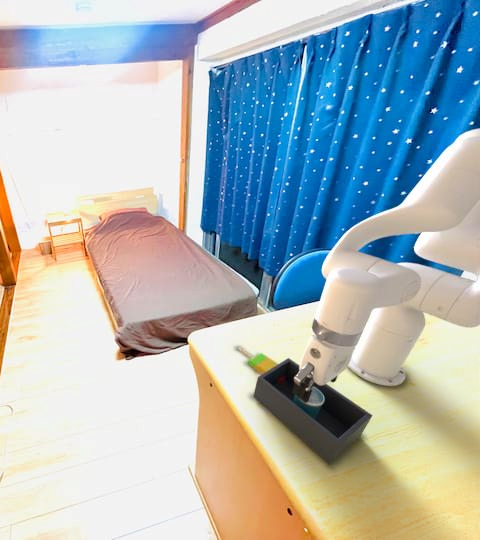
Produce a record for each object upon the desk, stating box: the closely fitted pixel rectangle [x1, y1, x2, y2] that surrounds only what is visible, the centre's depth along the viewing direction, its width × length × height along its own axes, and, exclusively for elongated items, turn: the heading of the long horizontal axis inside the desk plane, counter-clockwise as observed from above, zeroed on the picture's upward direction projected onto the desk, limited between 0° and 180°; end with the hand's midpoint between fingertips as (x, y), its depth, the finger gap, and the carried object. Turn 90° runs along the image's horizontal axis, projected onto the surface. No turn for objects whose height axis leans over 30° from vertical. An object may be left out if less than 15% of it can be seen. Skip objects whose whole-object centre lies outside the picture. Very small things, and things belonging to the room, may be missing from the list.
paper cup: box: [293, 387, 324, 420], centre depth 65 cm, size 5×5×7 cm
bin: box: [252, 357, 373, 465], centre depth 65 cm, size 12×19×8 cm, turn 28°
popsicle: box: [237, 346, 285, 383], centre depth 80 cm, size 6×3×15 cm
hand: (313, 387), depth 62 cm, fingers open, 9 cm apart
